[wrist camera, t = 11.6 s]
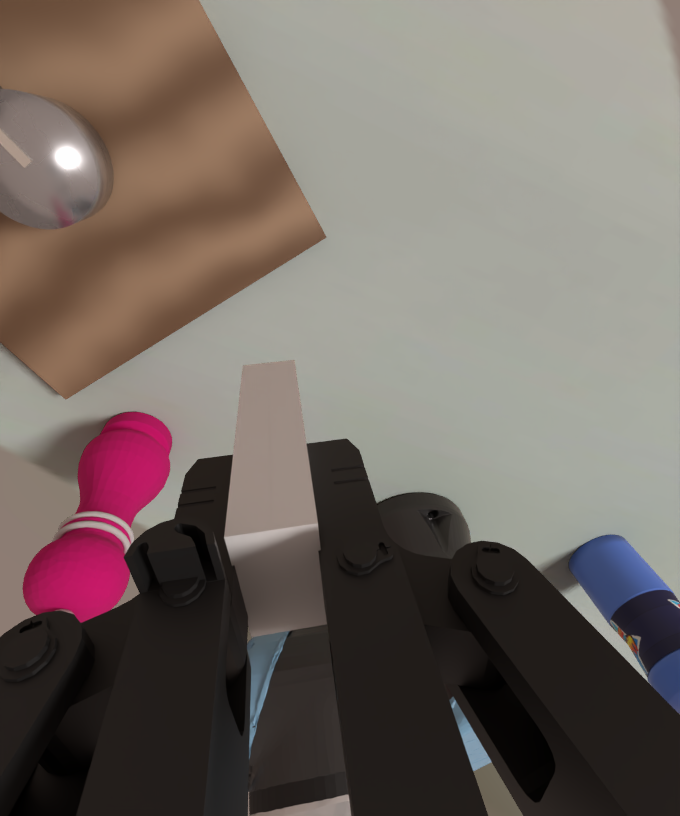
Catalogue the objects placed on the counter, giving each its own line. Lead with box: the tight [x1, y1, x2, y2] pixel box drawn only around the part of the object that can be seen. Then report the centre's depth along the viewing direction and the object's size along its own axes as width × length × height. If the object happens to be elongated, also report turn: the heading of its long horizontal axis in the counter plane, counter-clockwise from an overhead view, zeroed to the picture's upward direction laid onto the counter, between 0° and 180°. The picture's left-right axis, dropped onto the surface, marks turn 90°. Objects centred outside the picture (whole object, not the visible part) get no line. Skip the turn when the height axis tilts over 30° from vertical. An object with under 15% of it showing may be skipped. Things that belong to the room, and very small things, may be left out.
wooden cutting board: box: [0, 0, 326, 399], centre depth 28 cm, size 26×26×2 cm
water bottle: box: [569, 535, 680, 714], centre depth 53 cm, size 9×9×25 cm
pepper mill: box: [23, 412, 172, 623], centre depth 33 cm, size 7×7×20 cm
